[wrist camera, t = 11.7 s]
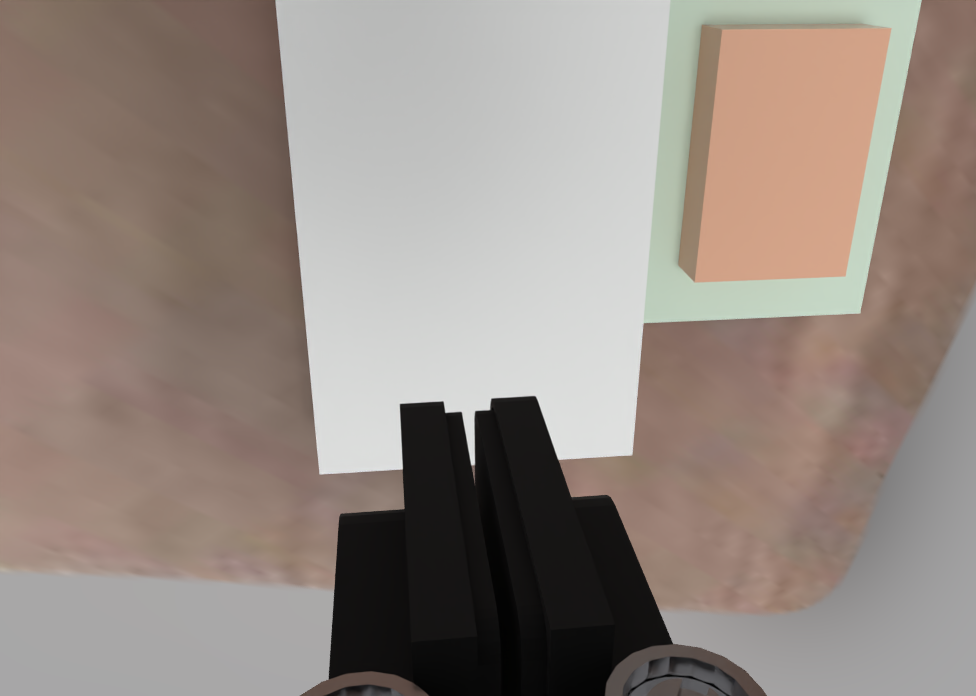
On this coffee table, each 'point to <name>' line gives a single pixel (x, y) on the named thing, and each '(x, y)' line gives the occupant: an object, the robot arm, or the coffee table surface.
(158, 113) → the coffee table surface
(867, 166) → the mat
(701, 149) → the tile
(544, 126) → the white flat block
